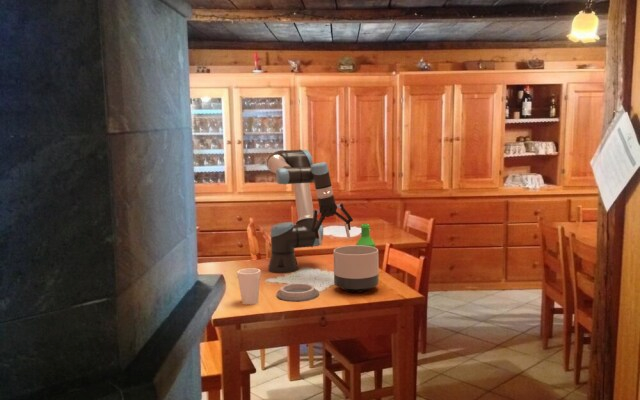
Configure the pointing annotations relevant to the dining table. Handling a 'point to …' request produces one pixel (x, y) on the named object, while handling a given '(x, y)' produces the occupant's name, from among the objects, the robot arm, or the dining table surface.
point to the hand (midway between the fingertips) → (335, 241)
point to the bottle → (365, 236)
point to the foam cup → (249, 284)
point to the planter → (356, 267)
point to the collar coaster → (297, 292)
